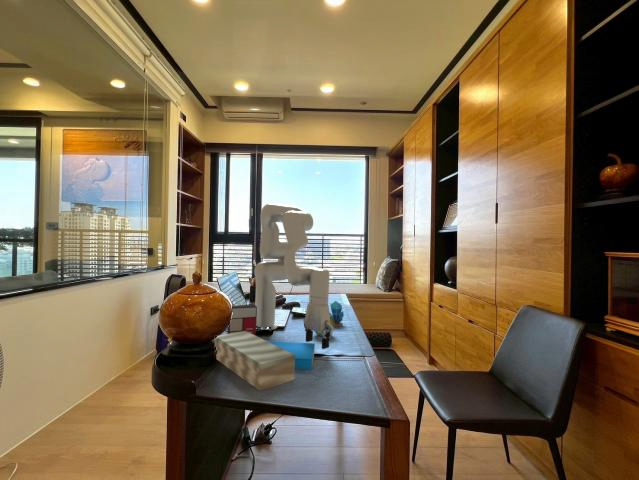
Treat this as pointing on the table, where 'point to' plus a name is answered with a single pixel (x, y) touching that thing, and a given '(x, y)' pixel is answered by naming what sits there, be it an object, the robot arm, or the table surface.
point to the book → (299, 353)
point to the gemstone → (337, 313)
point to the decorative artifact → (330, 323)
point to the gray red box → (243, 319)
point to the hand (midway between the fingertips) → (316, 344)
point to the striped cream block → (255, 359)
